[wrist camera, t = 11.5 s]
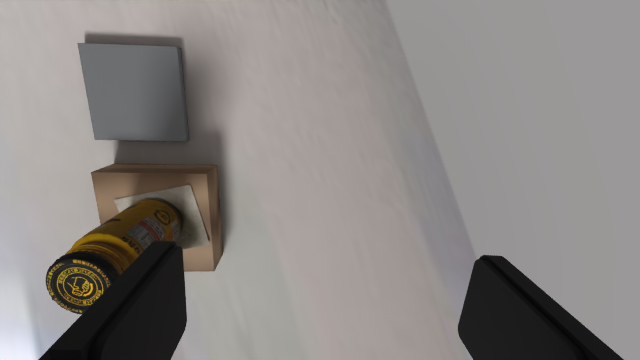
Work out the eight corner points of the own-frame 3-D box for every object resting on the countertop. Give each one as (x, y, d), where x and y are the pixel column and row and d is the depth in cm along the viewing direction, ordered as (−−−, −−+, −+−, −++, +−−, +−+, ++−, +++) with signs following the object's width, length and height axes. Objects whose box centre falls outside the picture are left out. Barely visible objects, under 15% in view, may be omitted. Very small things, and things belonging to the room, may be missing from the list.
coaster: (84, 44, 32) (77, 43, 31) (180, 47, 33) (176, 46, 32) (100, 138, 35) (94, 139, 34) (189, 140, 36) (185, 141, 35)
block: (113, 163, 36) (90, 172, 32) (216, 165, 37) (206, 173, 33) (128, 254, 39) (109, 271, 35) (222, 254, 40) (214, 271, 36)
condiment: (114, 199, 33) (13, 256, 22) (190, 184, 33) (130, 233, 22) (138, 257, 35) (58, 337, 24) (210, 243, 35) (164, 316, 24)
